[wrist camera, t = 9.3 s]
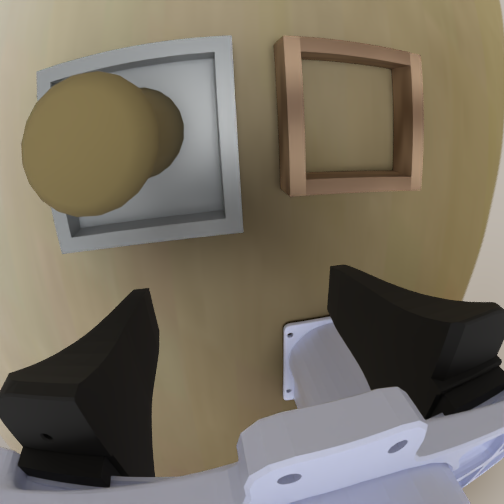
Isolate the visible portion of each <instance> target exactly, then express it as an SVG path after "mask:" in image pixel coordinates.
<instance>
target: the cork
mask: <svg viewBox="0 0 504 504" xmlns="http://www.w3.org/2000/svg"><path fill="white" fill-rule="evenodd" d="M183 140H184V123H183V120H182V117H181V114H180V110H179V109H178V108H177V106H176V105H175V104H174V102H173V101H172V100H171V99H170V98H169V97H167V96H166V95H164V94H163V93H161V92H160V91H157V90H153V89H149V88H145V87H143V88H139V87H137V86H136V85H134V84H132V83H131V82H129V81H128V80H126V79H125V78H123V77H121V76H120V75H116V74H111V73H106V72H101V71H95V72H88V73H82V74H76V75H73V76H70V77H69V78H67V79H65V80H63V81H61V82H59V83H57V84H56V85H54V86H52V87H51V88H50V89H49V90H48V91H47V92H46V93H45V94H44V95H43V96H42V97H41V98H40V99H39V100H38V102H37V103H36V105H35V107H34V108H33V110H32V112H31V114H30V116H29V118H28V120H27V122H26V126H25V130H24V135H23V139H22V144H21V146H22V163H23V167H24V170H25V173H26V176H27V179H28V181H29V184H30V185H31V186H32V188H33V189H34V191H35V192H36V193H37V195H38V196H39V197H40V199H41V200H42V201H43V202H45V203H46V204H48V205H49V206H51V207H52V208H53V209H55V210H56V211H58V212H61V213H64V214H68V215H71V216H75V217H86V216H99V215H103V214H105V213H108V212H110V211H113V210H115V209H118V208H120V207H122V206H123V205H124V204H126V203H127V202H128V201H129V200H130V199H132V198H133V197H134V196H135V195H136V194H138V193H139V191H140V190H141V189H142V187H143V185H144V184H145V182H146V181H147V179H148V178H151V177H153V176H156V175H159V174H160V173H161V172H162V171H164V170H165V169H166V168H168V167H169V166H170V165H171V164H172V162H173V161H174V160H175V158H176V157H177V155H178V154H179V152H180V149H181V146H182V143H183Z"/></svg>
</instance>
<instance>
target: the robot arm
mask: <svg viewBox="0 0 504 504" xmlns="http://www.w3.org/2000/svg"><path fill="white" fill-rule="evenodd" d="M327 309H328V312H329V314H330V317H324V318H318V319H313V320H307V321H301V322H294V323H289V324H286V325H285V326H284V329H283V398H284V400H292V399H294V400H295V403H296V406H297V409H294V410H289V411H284V412H280V413H277V414H274V415H271V416H268V417H264V418H261V419H259V420H257V421H256V422H255V423H253V424H252V425H251V426H249V427H248V428H247V429H245V430H244V431H243V432H241V434H240V437H239V440H238V443H237V451H238V457H239V459H238V462H235V463H232V464H229V465H225V466H221V467H218V468H214V469H210V470H206V471H202V472H198V473H194V474H189V475H185V476H180V477H155V472H154V461H153V448H152V395H153V388H154V381H155V374H156V368H157V361H158V354H159V328H158V324H157V320H156V316H155V312H154V308H153V304H152V300H151V295H150V291H149V288H145V289H136V290H133V291H132V292H131V293H130V294H129V295H128V296H127V297H126V298H125V299H124V300H123V301H122V302H121V303H120V304H119V305H118V306H117V307H116V308H115V309H114V310H113V311H112V312H111V313H110V314H109V315H108V316H107V317H105V318H104V319H103V320H102V321H101V322H100V323H99V324H98V325H97V326H96V327H95V328H93V329H92V330H91V331H90V332H88V333H87V334H86V335H85V336H83V337H82V338H80V339H79V340H78V341H76V342H75V343H73V344H72V345H70V346H68V347H67V348H65V349H63V350H62V351H60V352H59V353H57V354H55V355H53V356H51V357H49V358H47V359H45V360H43V361H41V362H39V363H36V364H34V365H32V366H29V367H26V368H23V369H21V370H18V371H15V372H12V373H9V375H8V377H7V379H6V381H5V382H4V384H3V386H2V388H1V390H0V418H1V420H2V421H3V423H4V424H5V426H6V427H7V428H8V429H9V431H10V432H11V433H12V434H13V435H14V437H15V438H16V439H17V440H18V441H19V443H20V444H21V445H22V446H23V449H22V452H21V455H20V454H19V453H17V452H16V451H14V450H11V449H7V448H3V447H0V504H471V503H470V501H469V500H468V498H467V496H466V495H465V493H464V491H463V490H462V488H463V487H465V486H466V485H468V484H469V483H471V482H472V481H473V480H475V479H476V478H478V477H479V476H480V475H482V474H483V473H484V472H485V471H487V470H488V469H490V468H491V467H492V466H493V465H495V464H496V463H497V462H498V461H500V460H501V459H502V458H503V457H504V371H503V370H502V369H501V368H500V367H499V365H501V363H502V361H501V359H500V358H499V357H498V356H497V354H498V351H499V349H500V347H501V344H502V342H503V340H504V309H503V308H502V307H500V306H499V305H498V304H496V303H493V302H464V301H454V300H447V299H442V298H437V297H432V296H427V295H423V294H420V293H416V292H413V291H410V290H407V289H404V288H401V287H398V286H396V285H393V284H390V283H388V282H386V281H383V280H381V279H378V278H376V277H374V276H372V275H369V274H367V273H365V272H363V271H360V270H358V269H355V268H353V267H350V266H347V265H337V266H330V279H329V293H328V306H327ZM289 333H292V334H290V335H288V334H289ZM288 389H289V390H288Z"/></svg>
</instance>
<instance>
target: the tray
mask: <svg viewBox="0 0 504 504" xmlns="http://www.w3.org/2000/svg"><path fill="white" fill-rule="evenodd" d="M95 71H101V72H106V73H111V74H116V75H120V76H121V77H123V78H125V79H126V80H128V81H129V82H131V83H132V84H134V85H136V86H137V87H139V88H143V87H145V88H149V89H153V90H157V91H160V92H161V93H163V94H164V95H166V96H167V97H169V98H170V99H171V100H172V101H173V102H174V104H175V105H176V106H177V108H178V109H179V110H180V114H181V117H182V120H183V123H184V140H183V143H182V146H181V149H180V152H179V154H178V155H177V157H176V158H175V160H174V161H173V162H172V164H171V165H170V166H169V167H168V168H166V169H165V170H164V171H162V172H161V173H160V174H159V175H156V176H153V177H151V178H148V179H147V181H146V182H145V184H144V185H143V187H142V189H141V190H140V191H139V193H138V194H136V195H135V196H134V197H133V198H132V199H130V200H129V201H128V202H127V203H126V204H124V205H123V206H122V207H120V208H118V209H115V210H113V211H110V212H108V213H105V214H103V215H99V216H86V217H75V216H71V215H68V214H64V213H61V212H58V211H56V210H55V209H53V208H52V207H51V209H52V214H53V218H54V223H55V227H56V231H57V236H58V240H59V244H60V248H61V251H62V254H66V253H73V252H81V251H89V250H97V249H104V248H112V247H121V246H129V245H137V244H145V243H154V242H162V241H171V240H179V239H188V238H197V237H206V236H215V235H225V234H234V233H243V218H242V202H241V186H240V171H239V155H238V138H237V122H236V105H235V88H234V70H233V52H232V36H212V37H198V38H188V39H178V40H170V41H162V42H155V43H149V44H143V45H137V46H131V47H126V48H121V49H116V50H111V51H107V52H103V53H98V54H94V55H90V56H86V57H82V58H79V59H75V60H72V61H68V62H65V63H61V64H58V65H55V66H52V67H49V68H46V69H43V70H40V71H37V101H38V100H39V99H40V98H41V97H42V96H43V95H44V94H45V93H46V92H47V91H48V90H49V89H50V88H51V87H52V86H54V85H56V84H57V83H59V82H61V81H63V80H65V79H67V78H69V77H70V76H73V75H76V74H82V73H88V72H95Z"/></svg>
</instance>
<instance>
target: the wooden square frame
mask: <svg viewBox="0 0 504 504" xmlns="http://www.w3.org/2000/svg"><path fill="white" fill-rule="evenodd" d="M274 57H275V73H276V91H277V111H278V133H279V157H280V186H281V189H282V190H283V191H284V192H285V193H287V194H288V195H289V196H290V197H293V196H307V195H323V194H339V193H358V192H381V191H411V190H421V183H422V167H423V138H424V110H423V81H422V66H421V55H418V54H414V53H410V52H405V51H401V50H396V49H391V48H386V47H381V46H376V45H370V44H364V43H357V42H350V41H343V40H334V39H325V38H314V37H301V36H282V37H281V38H280V39H279V40H278V41H277V42H276V43H275V44H274ZM301 59H308V60H323V61H335V62H345V63H354V64H362V65H370V66H377V67H383V68H389V69H392V83H393V111H394V150H393V171H334V172H309V173H306V158H305V123H304V99H303V80H302V63H301Z"/></svg>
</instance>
